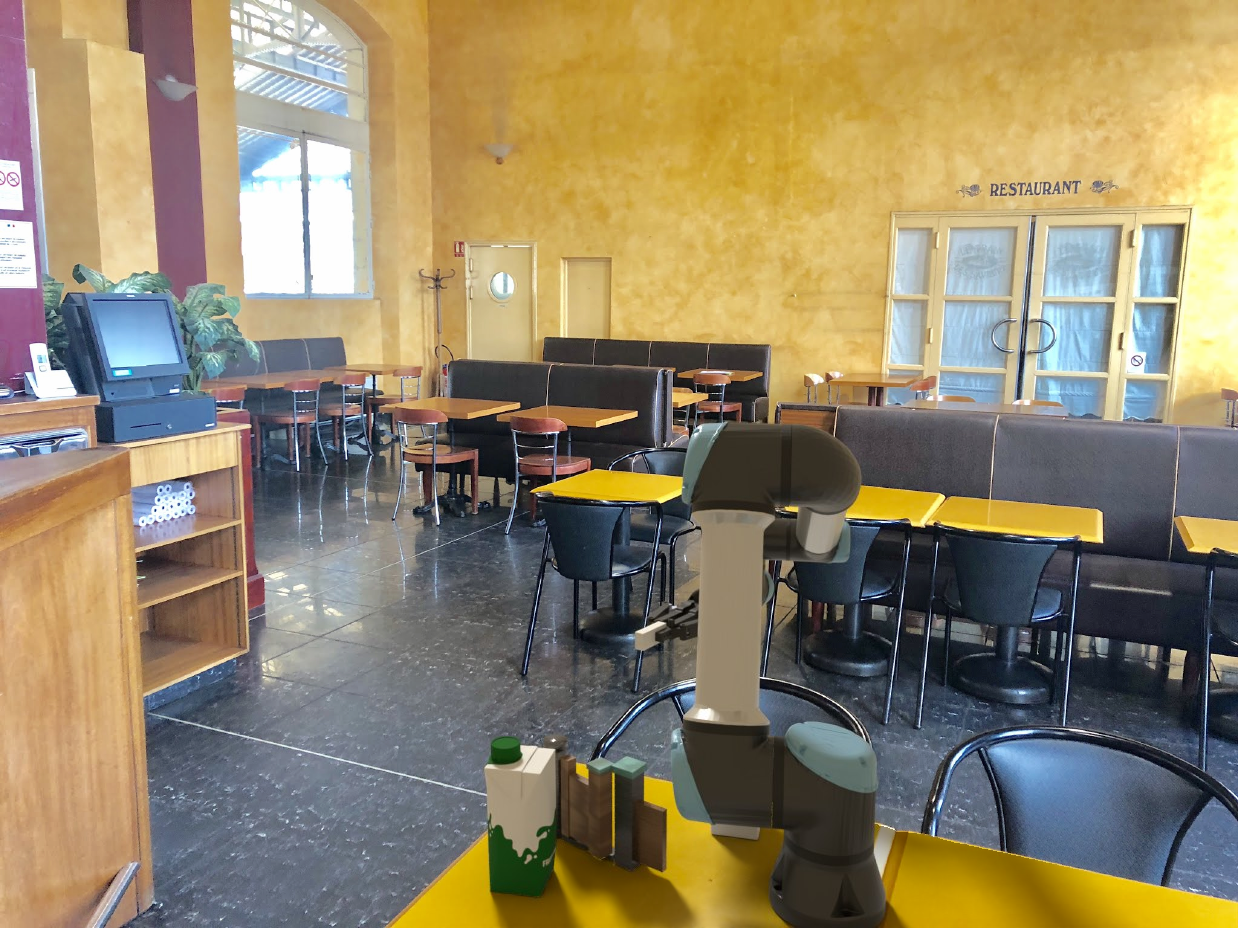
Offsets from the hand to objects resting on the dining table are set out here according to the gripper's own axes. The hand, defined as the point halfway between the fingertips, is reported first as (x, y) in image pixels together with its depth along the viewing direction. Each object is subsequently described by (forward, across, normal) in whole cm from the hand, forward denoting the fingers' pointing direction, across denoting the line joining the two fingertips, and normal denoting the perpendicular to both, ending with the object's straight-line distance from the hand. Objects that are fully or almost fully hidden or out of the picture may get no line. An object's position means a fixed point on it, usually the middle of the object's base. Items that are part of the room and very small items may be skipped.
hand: (639, 641), depth 144 cm
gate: (+14, 0, -27) cm, 30 cm away
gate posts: (+12, -2, -28) cm, 31 cm away
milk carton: (+24, +2, -28) cm, 37 cm away
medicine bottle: (-6, -14, -28) cm, 32 cm away
